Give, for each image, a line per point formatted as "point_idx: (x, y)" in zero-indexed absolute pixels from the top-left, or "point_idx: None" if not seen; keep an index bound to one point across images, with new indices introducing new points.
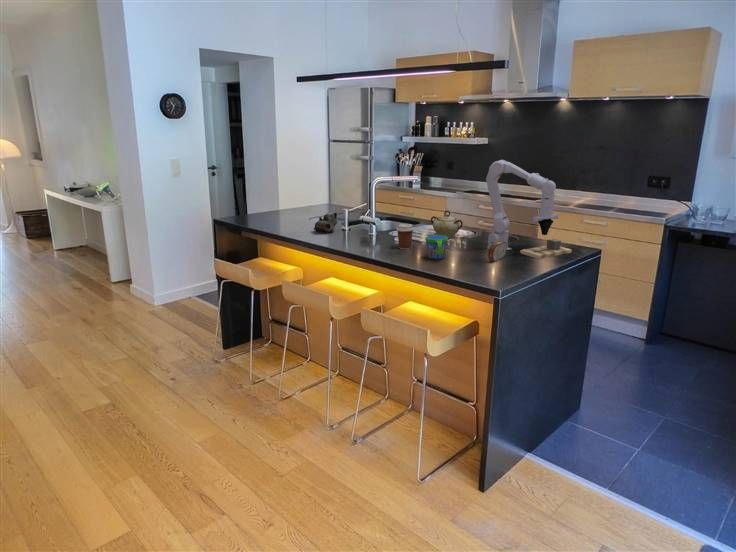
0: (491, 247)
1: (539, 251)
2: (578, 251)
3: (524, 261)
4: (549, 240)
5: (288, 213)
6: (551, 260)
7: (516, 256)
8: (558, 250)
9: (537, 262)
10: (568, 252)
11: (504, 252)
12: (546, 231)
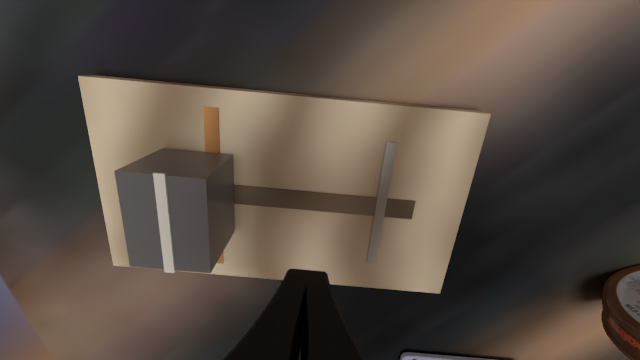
0: None
1: (363, 196)
2: (17, 65)
3: (624, 121)
4: (209, 246)
5: None
6: (443, 3)
7: (526, 241)
8: (212, 122)
9: (588, 34)
10: (131, 79)
11: (628, 297)
12: (315, 301)
